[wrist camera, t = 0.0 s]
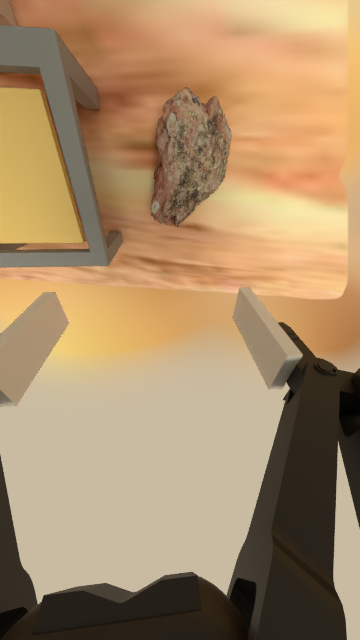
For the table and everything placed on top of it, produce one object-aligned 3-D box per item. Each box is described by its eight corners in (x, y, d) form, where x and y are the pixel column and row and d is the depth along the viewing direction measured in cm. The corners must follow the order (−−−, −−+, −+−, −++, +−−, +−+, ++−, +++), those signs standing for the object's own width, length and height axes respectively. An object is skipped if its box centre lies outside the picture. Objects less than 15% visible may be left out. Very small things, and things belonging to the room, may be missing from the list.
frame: (-65, 79, 24) (-227, 9, 14) (96, 87, 25) (53, 28, 15) (17, 243, 36) (-38, 268, 26) (122, 242, 37) (108, 265, 27)
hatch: (-110, 86, 18) (-123, 81, 17) (44, 93, 19) (39, 89, 18) (-18, 241, 26) (-24, 243, 25) (85, 241, 27) (83, 242, 26)
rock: (233, 12, 17) (259, 194, 24) (218, 84, 27) (240, 200, 33) (94, 103, 21) (151, 240, 27) (125, 138, 30) (162, 233, 37)
